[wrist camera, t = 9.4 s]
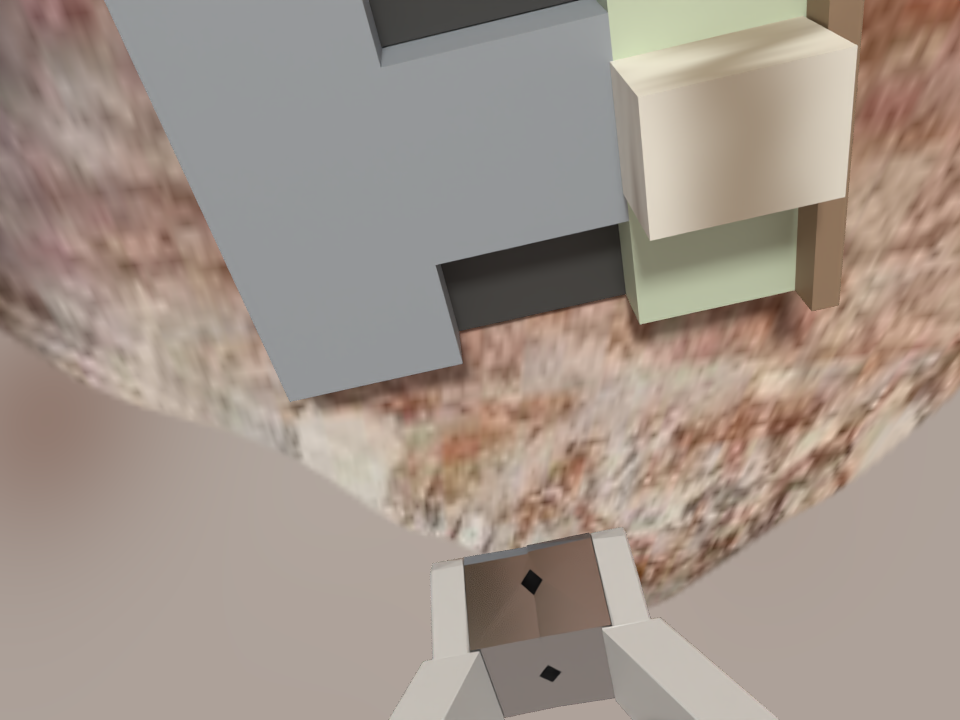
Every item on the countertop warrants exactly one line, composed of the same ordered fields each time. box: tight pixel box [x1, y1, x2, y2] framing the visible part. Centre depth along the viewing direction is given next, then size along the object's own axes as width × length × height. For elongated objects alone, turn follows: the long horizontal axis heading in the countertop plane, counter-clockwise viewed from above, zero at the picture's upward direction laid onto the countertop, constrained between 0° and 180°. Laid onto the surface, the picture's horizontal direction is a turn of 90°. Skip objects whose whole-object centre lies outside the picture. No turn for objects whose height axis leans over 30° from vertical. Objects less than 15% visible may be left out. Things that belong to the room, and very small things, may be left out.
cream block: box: [610, 16, 858, 241], centre depth 24 cm, size 6×4×4 cm
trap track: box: [104, 0, 864, 402], centre depth 26 cm, size 21×16×4 cm
